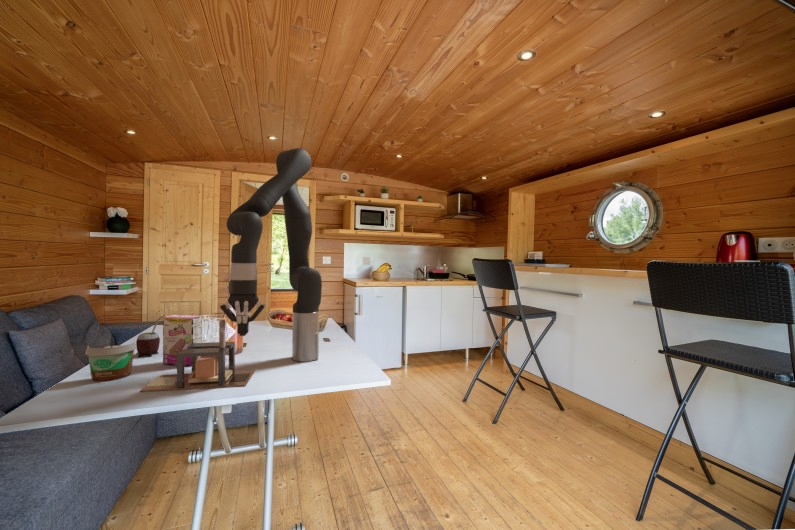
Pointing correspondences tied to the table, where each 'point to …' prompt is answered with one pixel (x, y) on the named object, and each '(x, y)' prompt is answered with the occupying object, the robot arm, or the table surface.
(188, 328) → the candy bar box
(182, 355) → the tunnel
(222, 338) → the sled
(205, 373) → the block
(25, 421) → the table surface
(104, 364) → the food container
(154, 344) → the mate gourd
